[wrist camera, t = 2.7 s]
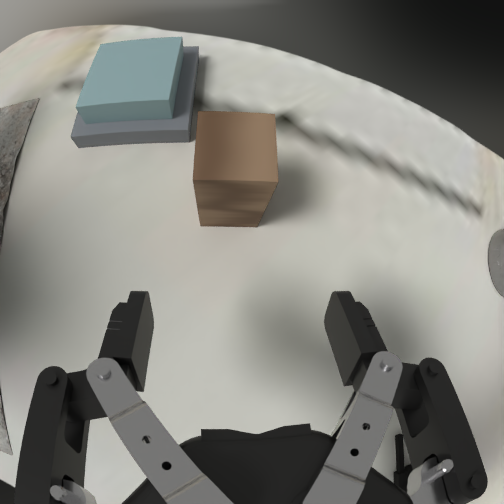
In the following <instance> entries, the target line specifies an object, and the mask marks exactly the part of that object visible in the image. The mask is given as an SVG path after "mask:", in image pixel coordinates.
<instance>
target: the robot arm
mask: <svg viewBox="0 0 504 504" xmlns="http://www.w3.org/2000/svg"><path fill="white" fill-rule="evenodd" d="M488 258H489V268H490V274H491V277H492V280H493V283H494V285H495V287H496V289H497V291H498V292H499V293H500V294H501V295H502V296H504V229H502V230H499V231H497V232H496V233H495V234H494V235H493V237H492V239H491V242H490V246H489V255H488ZM324 324H325V329H326V332H327V335H328V338H329V341H330V344H331V347H332V350H333V353H334V357H335V360H336V363H337V366H338V369H339V372H340V375H341V378H342V381H343V385H344V386H349V385H353V388H354V391H353V393H352V395H351V397H350V399H349V401H348V403H347V405H346V407H345V409H344V411H343V413H342V415H341V417H340V419H339V421H338V423H337V425H336V427H335V429H334V430H333V432H332V434H331V435H327V434H325V433H322V432H319V431H315V430H311V428H310V423H309V424H301V425H291V426H283V427H280V428H277V429H274V430H271V431H267V432H264V433H261V434H251V433H246V432H240V431H235V430H230V429H201V436H198V437H194V438H191V439H189V440H187V441H185V442H183V443H181V444H180V445H178V444H177V443H176V441H175V440H174V439H173V438H172V436H171V435H170V434H169V433H168V431H167V430H166V429H165V427H164V426H163V425H162V423H161V422H160V421H159V419H158V418H157V417H156V415H155V414H154V413H153V411H152V410H151V409H150V407H149V406H148V405H147V403H146V402H145V401H143V400H142V399H141V398H140V396H139V395H138V393H137V392H136V391H141V392H144V386H145V379H146V372H147V366H148V359H149V353H150V347H151V341H152V335H153V329H154V318H153V313H152V307H151V302H150V297H149V293H148V291H131V292H130V295H129V298H128V301H127V303H121V302H120V303H119V304H118V305H117V306H116V307H115V308H114V309H113V311H112V314H111V317H110V322H109V323H108V326H107V330H106V333H105V336H104V340H103V343H102V346H101V350H100V353H99V357H98V359H97V360H95V361H93V362H92V363H91V364H90V365H89V367H88V368H87V369H86V370H83V371H78V372H72V373H67V374H66V372H65V371H64V370H63V369H62V368H60V367H57V366H51V367H48V368H46V369H44V370H43V371H42V372H41V373H40V374H39V376H38V378H37V382H36V385H35V389H34V393H33V397H32V400H31V404H30V408H29V413H28V417H27V421H26V426H25V430H24V435H23V440H22V446H21V451H20V457H19V464H18V471H17V478H16V486H15V496H14V504H97V503H96V500H95V498H94V496H93V495H92V494H91V493H90V492H89V491H87V490H86V489H84V476H85V462H86V451H87V441H88V433H89V425H90V420H92V419H98V418H103V417H108V418H109V420H110V422H111V424H112V426H113V427H114V429H115V431H116V432H117V434H118V435H119V437H120V439H121V440H122V442H123V443H124V445H125V446H126V448H127V449H128V451H129V452H130V454H131V455H132V457H133V458H134V460H135V461H136V463H137V464H138V465H139V467H140V468H141V470H142V471H143V472H144V474H145V475H146V476H147V478H146V479H145V480H144V481H143V483H142V484H141V485H140V486H139V487H138V488H137V489H136V490H135V491H134V492H133V493H132V494H131V495H130V496H129V497H128V498H127V499H126V500H125V501H124V502H123V503H122V504H466V503H468V502H470V501H472V500H475V499H477V498H479V497H480V496H481V495H482V494H483V493H484V492H485V490H486V488H487V482H488V481H487V475H486V472H485V469H484V466H483V463H482V460H481V457H480V454H479V451H478V448H477V445H476V442H475V439H474V437H473V434H472V431H471V429H470V426H469V423H468V421H467V418H466V416H465V413H464V411H463V408H462V406H461V403H460V401H459V399H458V396H457V394H456V392H455V389H454V387H453V385H452V382H451V380H450V378H449V376H448V374H447V371H446V369H445V367H444V366H443V364H442V363H441V362H440V361H438V360H437V359H434V358H425V359H423V360H422V361H421V362H420V364H419V365H415V364H408V363H402V362H401V360H400V359H399V358H398V357H397V356H396V355H395V354H393V353H391V352H388V351H387V349H386V347H385V344H384V342H383V340H382V338H381V336H380V334H379V332H378V329H377V327H375V323H374V321H373V320H372V317H371V315H370V313H369V311H368V309H367V308H366V307H365V306H364V305H363V304H362V303H361V302H355V300H354V298H353V296H352V294H351V292H350V291H334V292H333V293H332V294H331V297H330V301H329V304H328V307H327V311H326V314H325V319H324ZM393 408H395V409H396V413H397V416H398V419H399V422H400V426H401V429H402V433H403V436H404V439H405V443H406V446H407V450H408V454H409V457H410V461H411V465H412V469H413V471H412V472H411V473H410V475H409V477H408V485H407V489H408V491H407V493H406V492H405V491H404V490H403V489H401V488H400V487H398V486H397V485H395V484H394V483H393V482H391V481H390V480H389V479H387V478H386V477H384V476H383V475H382V474H380V473H379V472H378V471H376V470H375V469H374V468H372V467H371V466H372V464H373V461H374V459H375V457H376V454H377V452H378V449H379V447H380V444H381V442H382V439H383V437H384V434H385V431H386V429H387V426H388V423H389V420H390V418H391V415H392V412H393Z"/></svg>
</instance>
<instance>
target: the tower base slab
mask: <svg viewBox="0 0 504 504" xmlns="http://www.w3.org/2000/svg"><path fill="white" fill-rule="evenodd" d="M183 54H184V57H183V62H182V67H181V72H180V77H179V83H178V88H177V94H176V99H175V105H174V111H173V118H172V119H152V120H131V121H116V122H103V123H92V124H85V122H84V121H83V119H82V117H81V116H80V114H79V112H78V113H77V116H76V120H75V123H74V127H73V130H72V134H71V138H72V140H73V141H74V143H75V144H76V145H77V147H78V148H84V147H95V146H108V145H123V144H142V143H177V142H190V131H191V121H192V111H193V102H194V93H195V85H196V77H197V70H198V62H199V46H195V47H183Z"/></svg>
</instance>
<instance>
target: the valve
mask: <svg viewBox="0 0 504 504" xmlns="http://www.w3.org/2000/svg"><path fill="white" fill-rule="evenodd" d="M38 101H39V99H35V100H31V101H26V102H23V103H19V104H15V105H11V106H7V107H3V108H0V250H1V237H2V234H1V232H2V231H3V209H4V206H5V204H6V202H7V200H8V196H9V191H10V184H11V180H12V177H13V172H14V168H15V161H16V157H17V155H18V152H19V151H20V149H21V147H22V144H23V141H24V138H25V135H26V132H27V129H28V126H29V123H30V120H31V118H32V115H33V113H34V110H35V108H36V105H37V103H38ZM0 451H2V452H5V453H7V454H10V455H13V454H12V451H11V447H10V443H9V439H8V435H7V429H6V424H5V421H4V417H3V408H2V405H1V397H0Z"/></svg>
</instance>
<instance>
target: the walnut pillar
mask: <svg viewBox="0 0 504 504" xmlns="http://www.w3.org/2000/svg"><path fill="white" fill-rule="evenodd" d="M193 184H194V190H195V196H196V202H197V208H198V214H199V220H200V226H223V227H257V226H258V224H259V222H260V220H261V218H262V216H263V213H264V211H265V209H266V207H267V205H268V203H269V201H270V199H271V196H272V194H273V192H274V190H275V188H276V186H277V184H278V163H277V143H276V125H275V114H265V113H248V112H221V111H198V119H197V130H196V143H195V156H194V170H193Z"/></svg>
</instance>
